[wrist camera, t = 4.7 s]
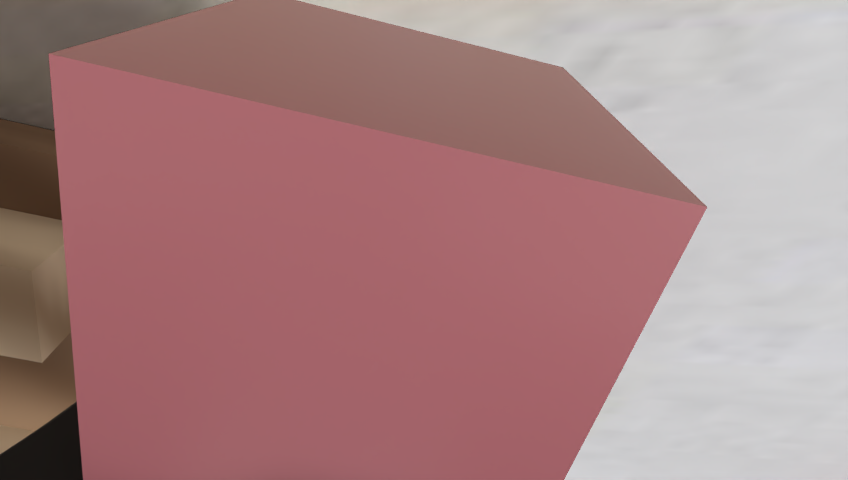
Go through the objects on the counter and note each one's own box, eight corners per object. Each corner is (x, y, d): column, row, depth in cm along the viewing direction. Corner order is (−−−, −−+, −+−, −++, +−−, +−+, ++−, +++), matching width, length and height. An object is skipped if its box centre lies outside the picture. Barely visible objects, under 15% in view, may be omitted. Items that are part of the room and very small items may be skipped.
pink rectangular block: (397, 548, 14) (379, 829, 9) (215, 518, 13) (108, 800, 9) (563, 67, 8) (707, 207, 4) (263, -8, 8) (47, 53, 4)
